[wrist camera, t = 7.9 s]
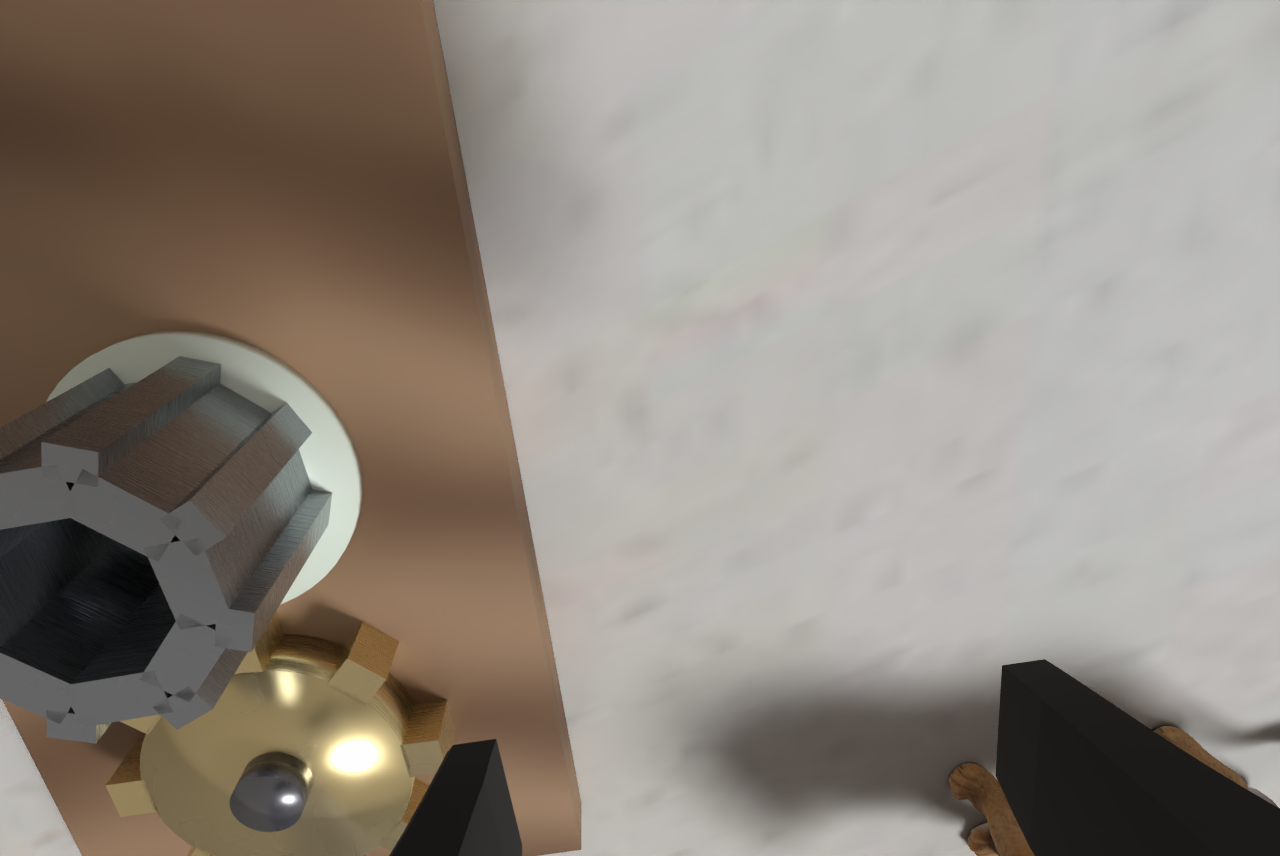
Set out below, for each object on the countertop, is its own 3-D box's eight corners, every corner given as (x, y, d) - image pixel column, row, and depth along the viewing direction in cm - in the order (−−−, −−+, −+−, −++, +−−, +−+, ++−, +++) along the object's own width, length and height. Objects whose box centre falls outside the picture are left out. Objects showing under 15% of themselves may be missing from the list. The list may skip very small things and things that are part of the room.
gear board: (581, 803, 24) (581, 923, 20) (142, 863, 24) (65, 996, 20) (415, -99, 15) (365, -159, 12) (-279, -20, 15) (-540, -58, 12)
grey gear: (254, 635, 19) (161, 785, 15) (11, 514, 17) (-170, 644, 13) (375, 454, 17) (310, 564, 13) (121, 306, 16) (-43, 377, 12)
